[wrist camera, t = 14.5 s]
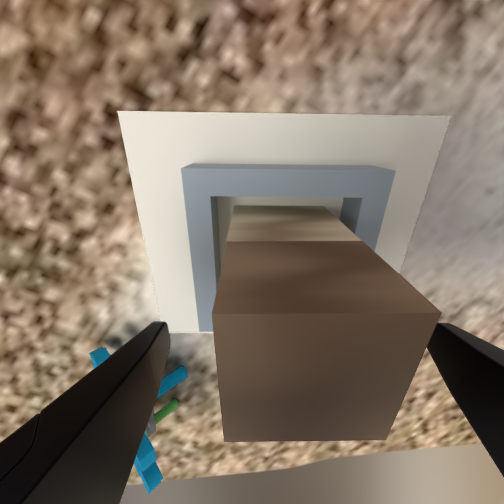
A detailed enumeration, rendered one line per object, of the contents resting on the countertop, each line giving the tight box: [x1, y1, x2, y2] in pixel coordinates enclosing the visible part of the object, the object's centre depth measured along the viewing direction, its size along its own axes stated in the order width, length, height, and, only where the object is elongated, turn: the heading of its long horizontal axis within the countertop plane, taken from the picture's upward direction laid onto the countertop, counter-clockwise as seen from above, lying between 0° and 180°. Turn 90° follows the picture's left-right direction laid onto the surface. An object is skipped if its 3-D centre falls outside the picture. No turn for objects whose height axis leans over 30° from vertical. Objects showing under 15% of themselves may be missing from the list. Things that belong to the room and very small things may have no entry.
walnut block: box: [212, 241, 442, 442], centre depth 8 cm, size 5×5×4 cm
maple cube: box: [226, 205, 361, 244], centre depth 12 cm, size 5×5×5 cm
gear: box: [89, 347, 188, 493], centre depth 18 cm, size 11×6×10 cm
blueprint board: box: [118, 111, 451, 333], centre depth 14 cm, size 16×14×3 cm
